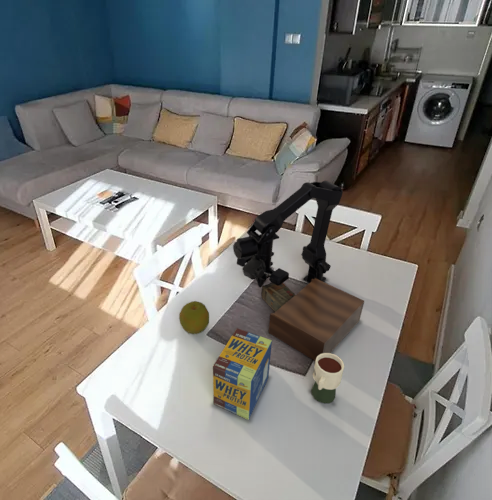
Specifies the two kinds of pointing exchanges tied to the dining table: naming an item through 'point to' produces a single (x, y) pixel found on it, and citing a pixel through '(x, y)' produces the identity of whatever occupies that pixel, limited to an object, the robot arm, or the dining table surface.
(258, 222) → the robot arm
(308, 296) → the walnut wood chunk
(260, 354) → the protein box
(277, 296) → the beverage carton
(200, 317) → the apple
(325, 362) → the character mug
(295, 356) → the dining table surface
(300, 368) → the dining table surface
